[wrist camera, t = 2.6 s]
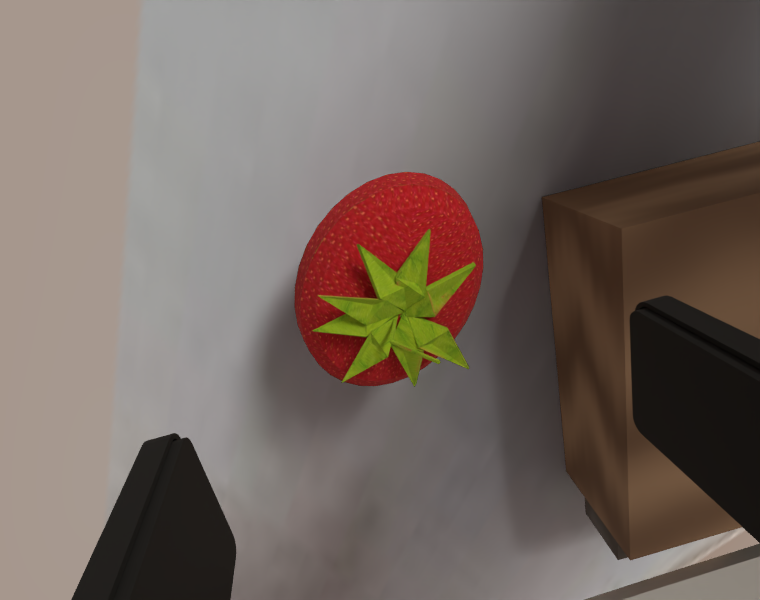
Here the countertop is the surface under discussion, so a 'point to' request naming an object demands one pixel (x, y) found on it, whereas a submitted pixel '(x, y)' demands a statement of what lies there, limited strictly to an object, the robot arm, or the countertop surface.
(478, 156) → the countertop surface
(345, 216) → the strawberry
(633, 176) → the brown wooden block
